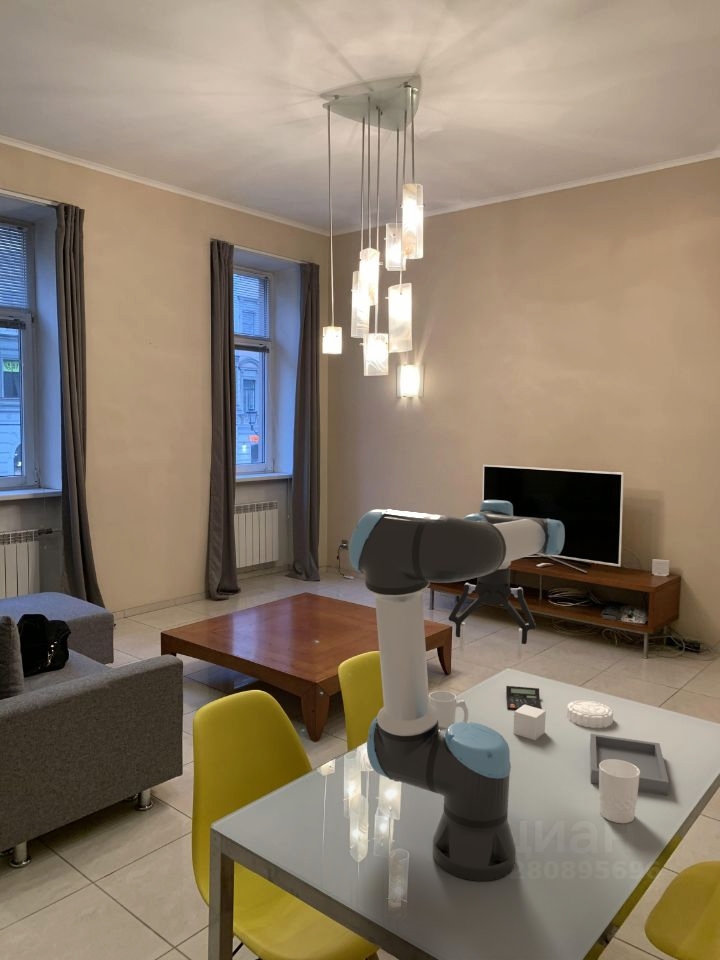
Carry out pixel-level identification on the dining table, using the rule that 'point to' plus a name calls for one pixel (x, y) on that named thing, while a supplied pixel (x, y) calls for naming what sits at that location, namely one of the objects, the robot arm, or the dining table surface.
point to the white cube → (529, 722)
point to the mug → (446, 707)
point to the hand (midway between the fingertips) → (490, 653)
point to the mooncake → (589, 714)
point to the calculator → (522, 697)
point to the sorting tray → (631, 760)
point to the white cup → (618, 790)
